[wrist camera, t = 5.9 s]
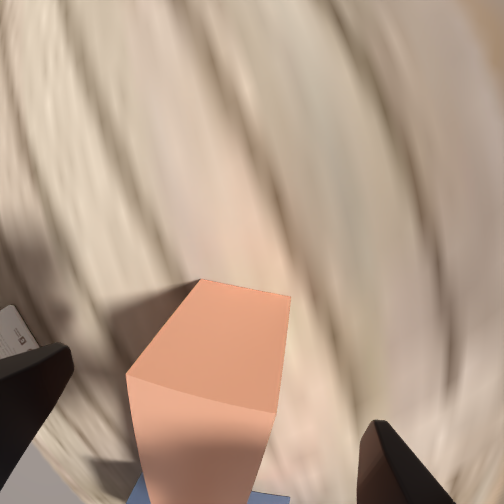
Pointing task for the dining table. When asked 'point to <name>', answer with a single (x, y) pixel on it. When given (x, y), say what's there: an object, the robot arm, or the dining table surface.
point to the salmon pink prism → (209, 394)
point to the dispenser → (140, 500)
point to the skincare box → (14, 333)
